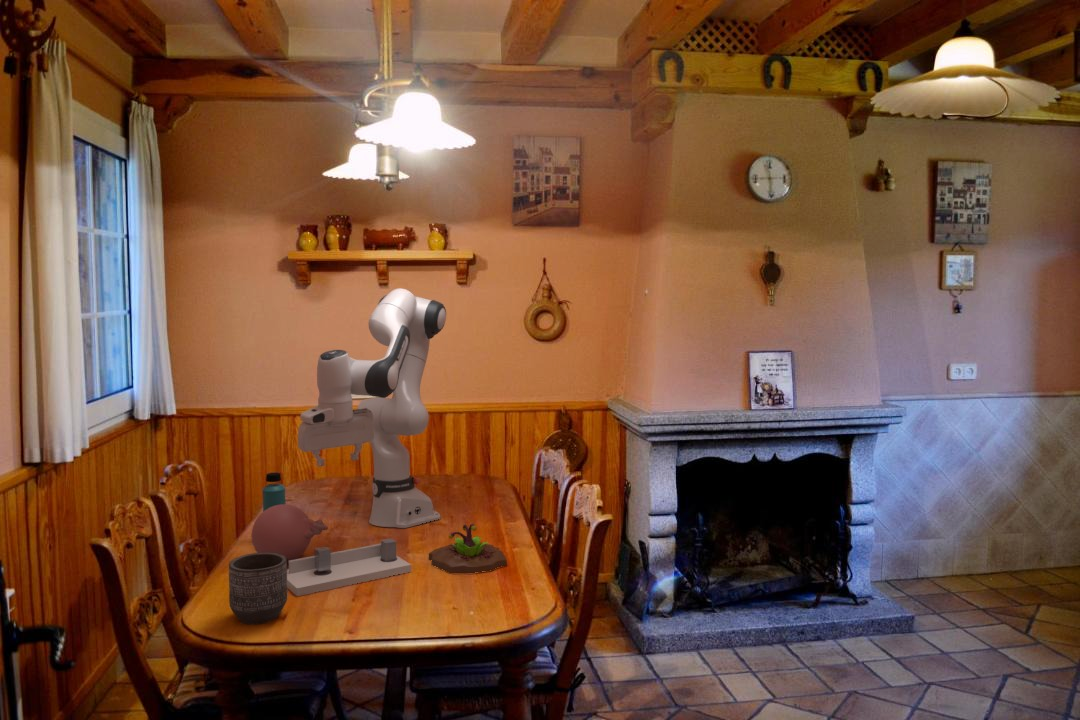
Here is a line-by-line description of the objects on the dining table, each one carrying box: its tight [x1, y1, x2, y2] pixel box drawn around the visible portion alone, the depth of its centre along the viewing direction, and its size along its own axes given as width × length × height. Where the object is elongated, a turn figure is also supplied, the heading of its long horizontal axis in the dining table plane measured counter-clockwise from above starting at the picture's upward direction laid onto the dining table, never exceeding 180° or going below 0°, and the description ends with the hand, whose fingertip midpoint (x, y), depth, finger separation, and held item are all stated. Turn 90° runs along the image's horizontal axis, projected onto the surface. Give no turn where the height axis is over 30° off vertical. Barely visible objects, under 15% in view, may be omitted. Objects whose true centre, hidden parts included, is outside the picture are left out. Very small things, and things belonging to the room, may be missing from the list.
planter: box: [228, 552, 288, 625], centre depth 178 cm, size 12×12×13 cm
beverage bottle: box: [262, 471, 287, 512], centre depth 232 cm, size 6×7×20 cm
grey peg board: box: [287, 538, 412, 597], centre depth 205 cm, size 30×14×7 cm, turn 126°
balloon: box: [251, 504, 329, 563], centre depth 215 cm, size 15×20×15 cm
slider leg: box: [314, 546, 332, 571], centre depth 202 cm, size 3×4×5 cm, turn 36°
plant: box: [428, 523, 508, 574], centre depth 217 cm, size 20×20×11 cm
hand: (338, 462), depth 215 cm, fingers open, 8 cm apart
